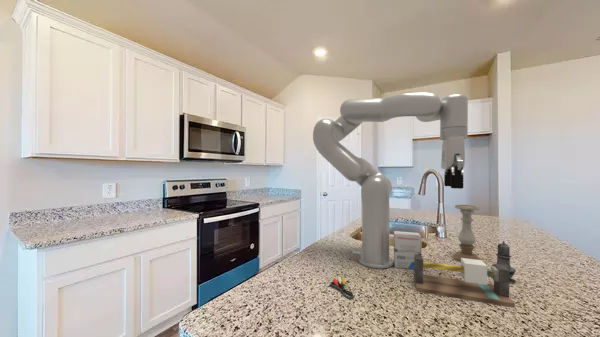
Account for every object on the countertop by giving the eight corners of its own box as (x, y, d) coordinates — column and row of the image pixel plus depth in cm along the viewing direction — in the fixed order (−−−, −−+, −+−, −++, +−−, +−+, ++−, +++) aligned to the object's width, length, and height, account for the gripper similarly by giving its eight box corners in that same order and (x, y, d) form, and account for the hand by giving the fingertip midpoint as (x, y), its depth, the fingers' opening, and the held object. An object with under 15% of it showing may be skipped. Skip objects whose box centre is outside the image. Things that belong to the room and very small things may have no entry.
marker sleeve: (464, 281, 66) (465, 263, 66) (460, 275, 70) (460, 257, 70) (487, 284, 64) (487, 266, 64) (481, 277, 69) (481, 260, 69)
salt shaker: (520, 284, 72) (521, 244, 72) (498, 282, 73) (498, 242, 73) (508, 276, 78) (508, 238, 78) (487, 274, 79) (487, 237, 79)
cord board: (416, 291, 68) (416, 262, 68) (413, 276, 77) (413, 251, 77) (514, 307, 60) (514, 275, 60) (498, 288, 69) (498, 260, 69)
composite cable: (355, 300, 64) (355, 290, 64) (338, 301, 63) (338, 291, 63) (343, 282, 74) (343, 274, 74) (327, 283, 73) (328, 275, 73)
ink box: (419, 265, 86) (419, 232, 86) (421, 270, 82) (421, 235, 82) (393, 262, 89) (393, 230, 89) (394, 267, 84) (394, 233, 84)
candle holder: (455, 254, 98) (456, 203, 98) (482, 259, 92) (483, 206, 92) (450, 259, 92) (450, 205, 92) (479, 266, 86) (479, 208, 86)
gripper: (435, 137, 88) (435, 185, 88) (445, 130, 72) (445, 188, 72) (460, 137, 85) (459, 185, 85) (475, 129, 69) (475, 189, 69)
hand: (453, 187), depth 79 cm, fingers open, 9 cm apart
